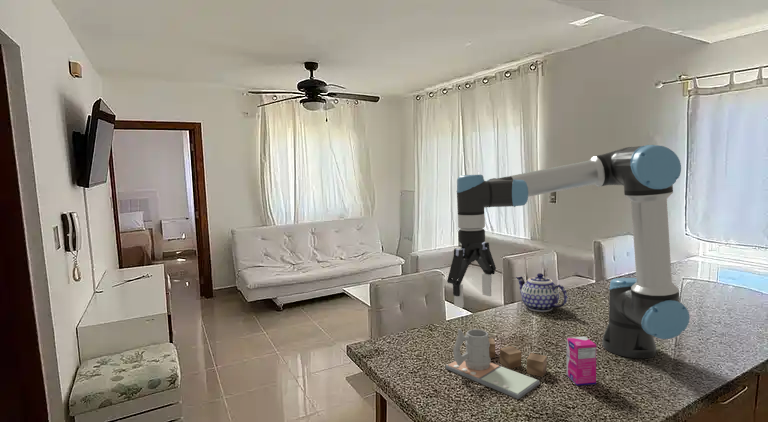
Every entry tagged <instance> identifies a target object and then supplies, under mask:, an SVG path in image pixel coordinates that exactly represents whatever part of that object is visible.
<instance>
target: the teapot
mask: <svg viewBox="0 0 768 422" xmlns="http://www.w3.org/2000/svg"><path fill="white" fill-rule="evenodd" d="M515 278H516V279H517V281H518V284H519V285H518V286H519V292H520V296H521V300H522V303H523V304H524V305H525V306H526V307H527V309H528V310H529V311H533V312H539V313H540V312H541V313H546V312H551V311H552V310H553V309H555V308H561V307H564V306H565V305H566V303H567V302H568V292H567V290H566V288H565V287H564V286H563V285H562V284H557V285H556V284H555V283H554V282H553V280H552V279H551V278H549V277H544V273H541V272H539V273H537V274H536V276H533V277H529V278H528V279H527V281H526V282H525V280H524V279H525V278H524V277H523V276H521V275H520V276H516V277H515ZM559 288H560V290H561V292H562V294H563V302H561V304H559V302H560V291H559Z"/></svg>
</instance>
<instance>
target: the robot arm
mask: <svg viewBox="0 0 768 422" xmlns="http://www.w3.org/2000/svg"><path fill="white" fill-rule="evenodd" d="M681 172H682V163H681V160H680V158H679V156H678V155H677V154H676V153H675V151H673V150H672V149H670V148H668V147H666V146H664V145H655V144H646V145H639V146H628V147H623V148H619V149H617V150H612V151H610V152H607V153H603V154H598V155H594V156H592V157H591V158H590V159H589V160H586V161H585V160H584V161H581V162H579V161H578V162H576V163H575V162H574V163H569V164H564V165H559V166H554V167H549V168H545V169H538V170H533V171H529V172H524V173H523V172H522V173H519V174H514V175H513V174H512V175H509V176H503V177H497V178H495V177H493V178H490V179H487V180H485V179H484V175H483V174H464V175H461V174H460V175H459V176H458V177H457V180H456V199H457V200H456V203H457V205H456V206H457V225H458V226H457V227H458V231H457V233H458V236H457V237H458V242H459V243H460V245H461V247H460V248H454V249H453V257H452V260H451V265H450V268H449V272H448V276H447V279H446V280H447V281H446V282H447V283H448V284H451V285H452V296H453V304H454V307H457V308H461V309H463V308H464V307H465V306H464V305H465V304H464V303H465V302H464V284H462V283H463V282H462V281H463V279H464V278H465V275H466V273H467V270H468V268H469V266H470V265H471V264H472V262H475V261H476V262H477V264H478V266H479V268H480V269H481V270H482V272H483V273H481V288H482V289H481V290H482V291H481V293H482V295H483V296H487V297H492V275H495V272H496V269H497V267H496V265H495V261H494V259H493V255H492V253H491V250H490V242H487V241H486V230H485V227H486V220H485V219H486V217H485V216H486V215H485V209H486V208H499V207H501V208H504V207H513V208H515V207H520V206H525V205H526V204H527V202H528V200H529V198H530V197H534V196H539V195H544V194H545V195H546V194H550V193H555V192H559V191H567V190H571V189H576V188H577V189H578V188H582V187H587V186H596V187H597V188H598V187H599V188H600V187H605V186H606V187H607V186H623V193H624V195H623V196H624V197H626V198H627V199H628V200H629V201H630V205H631V219H632V233H633V236H632V237H633V247H634V249H633V250H634V263H635V276H636V277H617V278H612V279H611V280H610V283H609V288H608V291H609V297H608V298H609V300H608V301H609V302H608V303H609V306H608V311H609V313H608V324H607V327H606V329H605V331H604V333H603V336H602V340H601V341H602V342H601V343H602V347H603V348H604V349H605V350H606V351H608V352H610V353H612V354H615V355H618V356H621V357H625V358H630V359H651V358H654V356H656V355H657V344H656V341H655V338H657V339H661V340H669V339H674V338H676V337H678V336H680V335H681V334H682V332H684V331H686V329H687V328H688V325H689V323H690V318H691V316H690V313H689V310H688V308H687V306H685V304H683V303H682V302H680V290H679V287H678V286H676V285H675V284H674V283H673V280H672V279H673V278H672V262H671V261H672V260H671V246H670V229H669V214H668V213H669V212H668V198H669V197H670V196H671V195H672V194H674V187H673V186H674V184H675V183H676V182H677V180H678V179H679V178H680V176H681ZM654 337H655V338H654Z"/></svg>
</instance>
